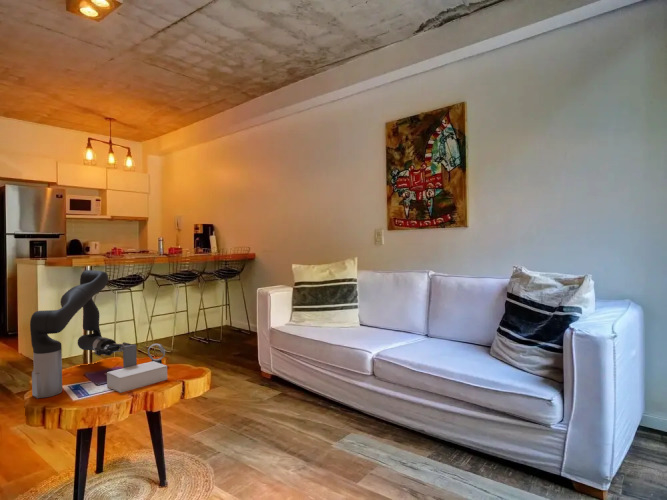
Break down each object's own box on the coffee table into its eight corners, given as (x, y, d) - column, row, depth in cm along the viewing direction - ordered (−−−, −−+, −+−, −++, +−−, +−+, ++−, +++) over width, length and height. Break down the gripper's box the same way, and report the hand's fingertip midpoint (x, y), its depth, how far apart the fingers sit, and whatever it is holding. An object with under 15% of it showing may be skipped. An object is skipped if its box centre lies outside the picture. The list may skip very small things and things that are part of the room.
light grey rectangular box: (120, 392, 162) (120, 377, 162) (107, 386, 170) (106, 372, 170) (167, 379, 178) (167, 365, 178) (153, 374, 186) (153, 361, 186)
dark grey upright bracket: (121, 389, 164) (120, 354, 163) (107, 383, 172) (106, 349, 171) (164, 377, 178) (164, 345, 178) (149, 372, 186) (149, 341, 186)
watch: (166, 367, 196) (165, 344, 196) (147, 369, 193) (147, 346, 193) (165, 363, 202) (165, 341, 201) (147, 366, 198) (147, 343, 198)
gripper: (88, 341, 188) (103, 346, 178) (119, 335, 200) (135, 340, 190) (88, 357, 189) (103, 363, 178) (120, 350, 200) (135, 356, 190)
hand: (120, 351), depth 184 cm, fingers open, 8 cm apart
